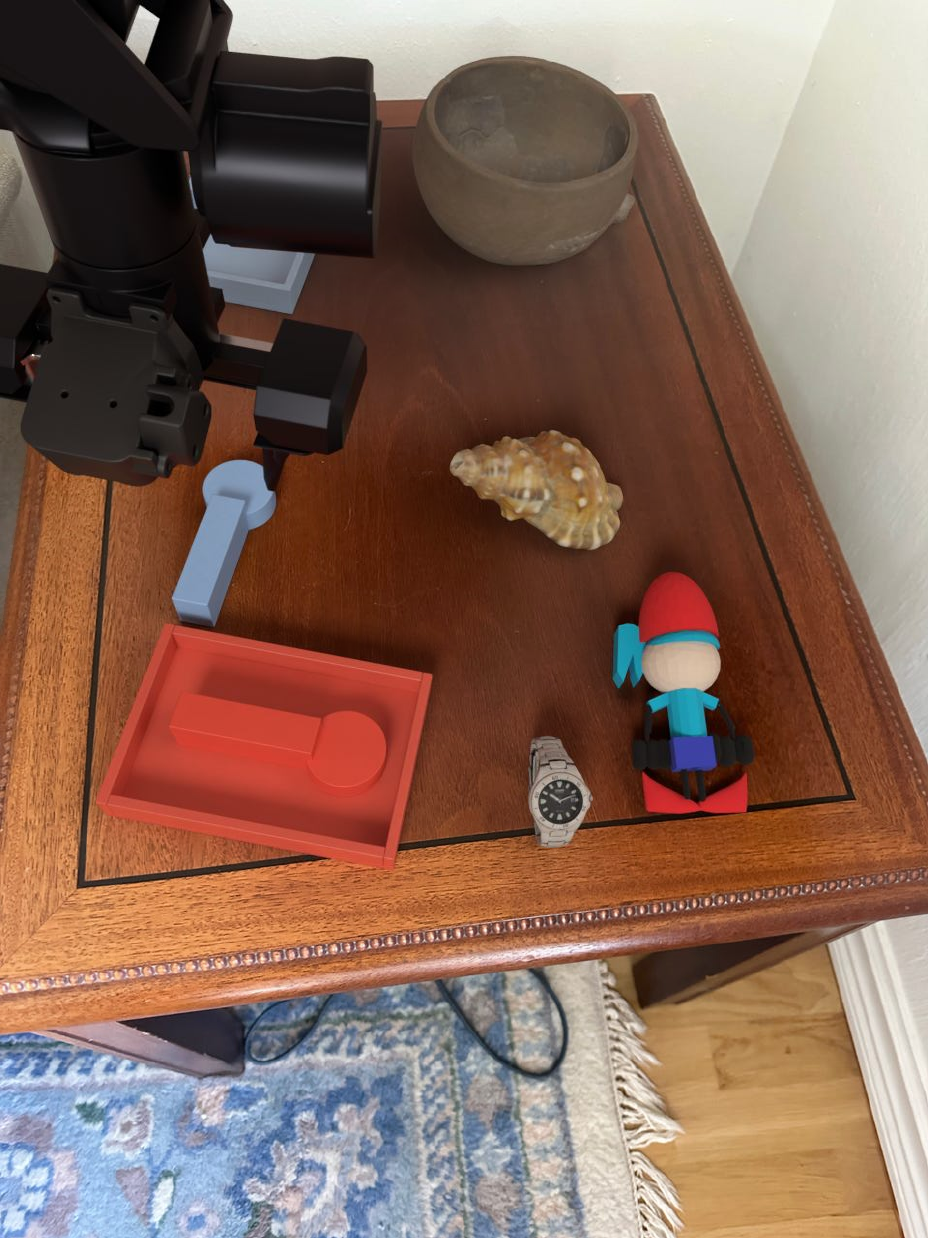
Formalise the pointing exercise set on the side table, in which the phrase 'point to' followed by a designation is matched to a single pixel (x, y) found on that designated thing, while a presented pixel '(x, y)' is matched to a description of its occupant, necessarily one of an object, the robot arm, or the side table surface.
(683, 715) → the toy figure
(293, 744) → the red spoon
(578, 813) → the wristwatch
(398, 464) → the side table surface
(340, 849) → the red tray
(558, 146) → the bowl
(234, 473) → the blue spoon
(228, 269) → the blue tray
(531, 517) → the seashell
